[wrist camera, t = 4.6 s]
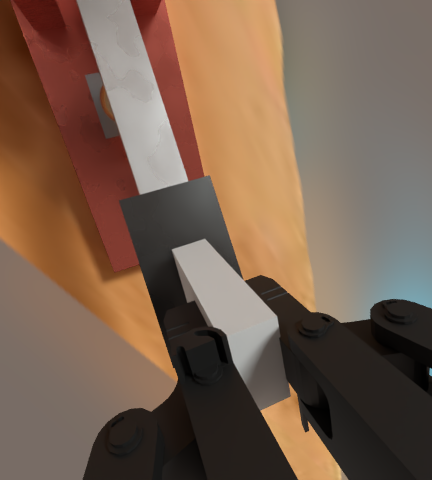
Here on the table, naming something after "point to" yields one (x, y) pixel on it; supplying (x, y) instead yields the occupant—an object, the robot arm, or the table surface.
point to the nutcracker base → (81, 118)
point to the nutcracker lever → (151, 159)
